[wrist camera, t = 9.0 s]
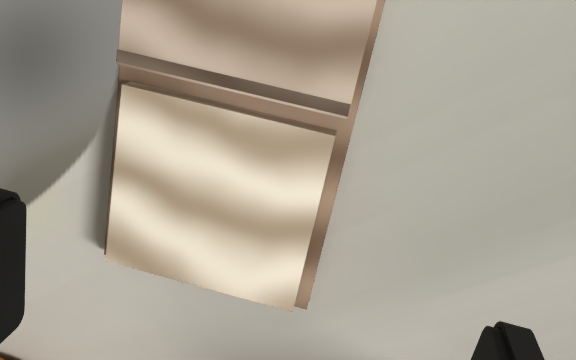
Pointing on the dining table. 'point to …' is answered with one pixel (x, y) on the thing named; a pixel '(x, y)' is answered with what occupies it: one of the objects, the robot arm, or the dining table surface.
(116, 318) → the dining table surface
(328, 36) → the floor board
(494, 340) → the robot arm
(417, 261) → the dining table surface
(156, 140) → the ash plank
